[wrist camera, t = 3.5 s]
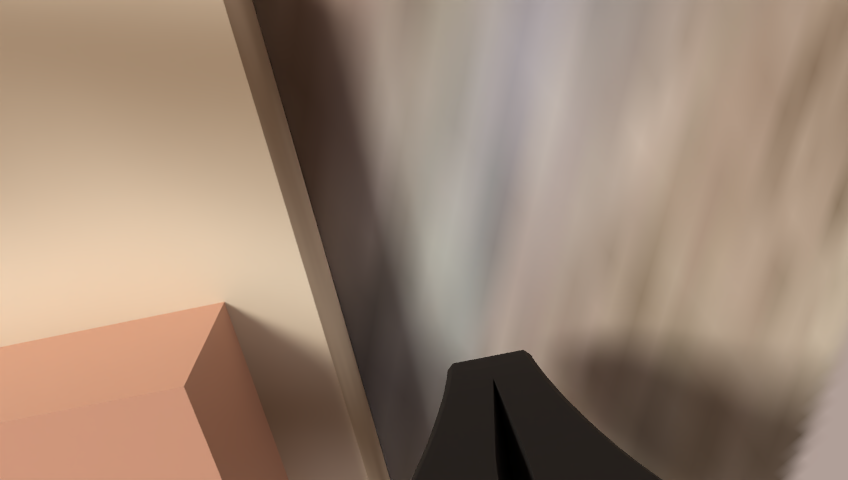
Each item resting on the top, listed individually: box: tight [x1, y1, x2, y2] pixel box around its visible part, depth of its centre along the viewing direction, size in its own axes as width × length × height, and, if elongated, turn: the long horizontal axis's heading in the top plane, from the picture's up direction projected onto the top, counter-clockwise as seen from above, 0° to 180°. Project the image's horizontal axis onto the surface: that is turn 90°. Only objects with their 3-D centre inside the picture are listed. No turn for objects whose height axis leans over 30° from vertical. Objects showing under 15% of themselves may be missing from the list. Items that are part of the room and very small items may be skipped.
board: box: [0, 0, 390, 480], centre depth 14 cm, size 16×12×2 cm
